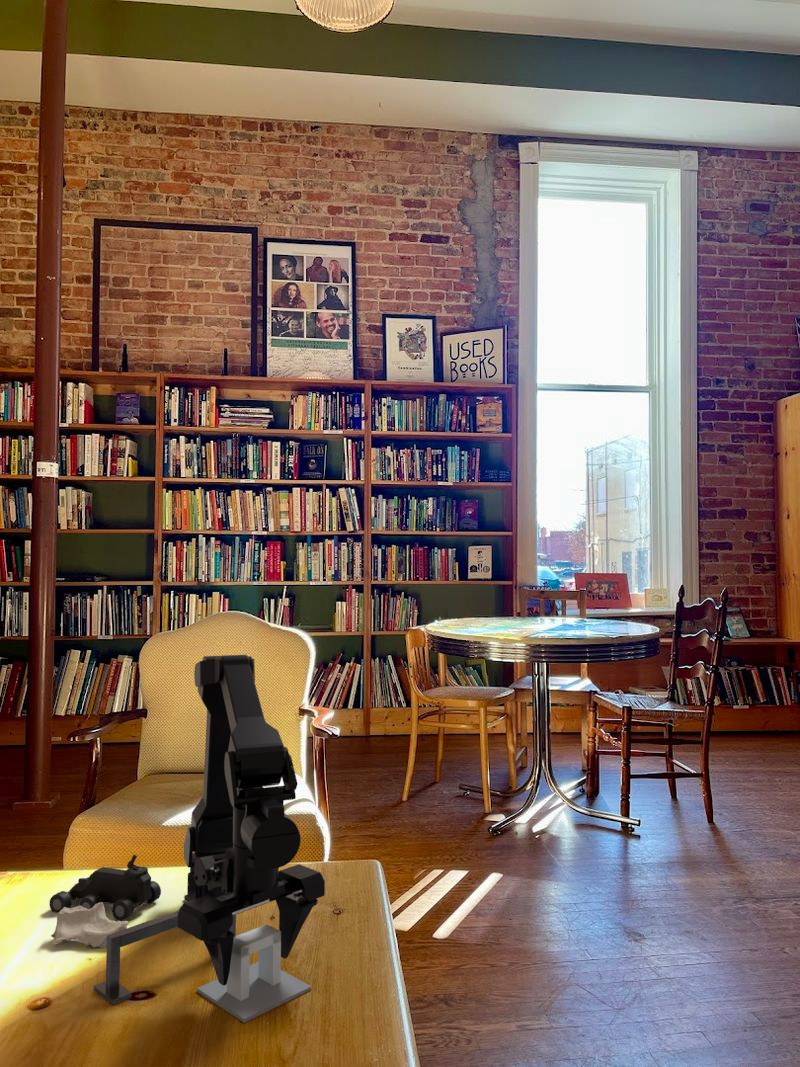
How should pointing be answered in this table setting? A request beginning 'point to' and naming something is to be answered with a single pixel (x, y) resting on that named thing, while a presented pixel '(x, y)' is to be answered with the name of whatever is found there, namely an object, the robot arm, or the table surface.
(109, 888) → the toy vehicle
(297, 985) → the mat
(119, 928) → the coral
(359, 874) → the table surface
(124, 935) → the stand
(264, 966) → the c link
